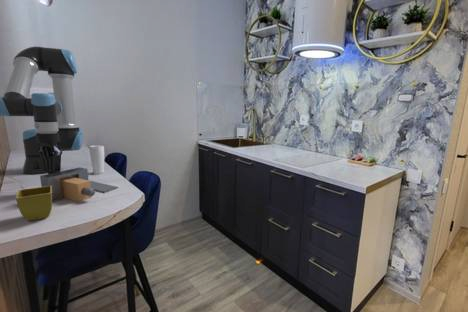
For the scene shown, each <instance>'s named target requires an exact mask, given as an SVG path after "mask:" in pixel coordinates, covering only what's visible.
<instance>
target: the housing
mask: <svg viewBox="0 0 468 312" xmlns="http://www.w3.org/2000/svg"><path fill="white" fill-rule="evenodd" d="M66 176H70V177H75V178H79V179H84V180H89V171H88V168H86V167H85V168H84V167H80V166H79V167H76V168H75V167H74V168H70V169H65V170H60V172H56V173H51V174H48V173H45V174H43V175H39V178H40V187H45V186H52V203H53V202H56V201H59V200H63V197H62V194H61V186H60V178H62V177H66Z"/></svg>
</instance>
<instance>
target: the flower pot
mask: <svg viewBox="0 0 468 312" xmlns="http://www.w3.org/2000/svg"><path fill="white" fill-rule="evenodd" d="M15 202H16V203H17V204H16V205H17V206H18V209H19V212H20V214H21V215H22V217H23V218H24V219H26V220H27V221H28V222H30V221H31V222H32V221H36V220H41V219H46V218H48V217H50V215H51V213H52V206H53V202H52V186H45V187H41V186H40V187H32V188H26V189H19V190H17V194H16V195H15Z"/></svg>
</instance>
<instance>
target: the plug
mask: <svg viewBox="0 0 468 312" xmlns="http://www.w3.org/2000/svg"><path fill="white" fill-rule="evenodd" d="M88 180H89V179H88ZM88 180H84V179H79V178H75V177H71V176H66V177H62V178H60V186H61V194H62V198H66V199H69V200H72V201H76V202H82V201H85V200H88V199H91V198H92V197H93V196H94V195H95V194H96V191H95V190H94V189H91V186H90V181H91V180H89V181H88Z"/></svg>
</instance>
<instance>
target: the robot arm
mask: <svg viewBox="0 0 468 312" xmlns="http://www.w3.org/2000/svg"><path fill="white" fill-rule="evenodd" d="M75 59H76V58H75V56H74V54H73V52H72V51H71V50H68V49H62V48H54V47H53V48H52V47H44V46H31V47H27V48H25V49H23V50H21V51H20V52H18V53H17V54H16V56H14V58H13V61H12V65H13V69H12V72H11V75H10V78H9V81H8V83H7V86H6V89H5V91H4V94H3V96H0V116H2V117H33V121H34V125H33V127H34V128H32V129H26V130H23V132H22V142H23V146H24V147H23V148H24V155H25V159H24V164H23V166H22V172H23V174H25V175H41V174H51V173H56V172H60V171H62V170H61V167H62V166H61V165H62V154H63V152H69V151H71V152H73V151H74V152H75V151H79V150H81V149H82V148H83V140H84V131H83V130H82V129H80V126H79V125H78V124H76V113H75V102H74V93H73V83H72V80H73V79H74V78H75V75H76V74H78V68H77V63H76V60H75ZM42 71H43V72H47V76H49V77H50V78H51V80H52V81H51V82H52V91H53V93H44V92H43V93H42V92H41V93H39V92H34V93H33V92H32V93H31V95H30V91H31V88H32V84H33V82H34V81H33V80H34V77H35V75H36V74H38V72H42ZM29 95H30V98H29Z"/></svg>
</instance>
